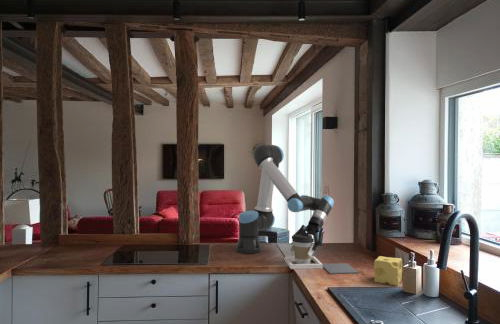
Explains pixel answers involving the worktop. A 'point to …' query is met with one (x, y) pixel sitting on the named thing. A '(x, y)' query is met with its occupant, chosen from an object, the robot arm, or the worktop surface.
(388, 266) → the cheese
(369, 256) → the worktop surface
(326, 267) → the rubber mat
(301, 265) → the holder frame
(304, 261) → the coffee cup
